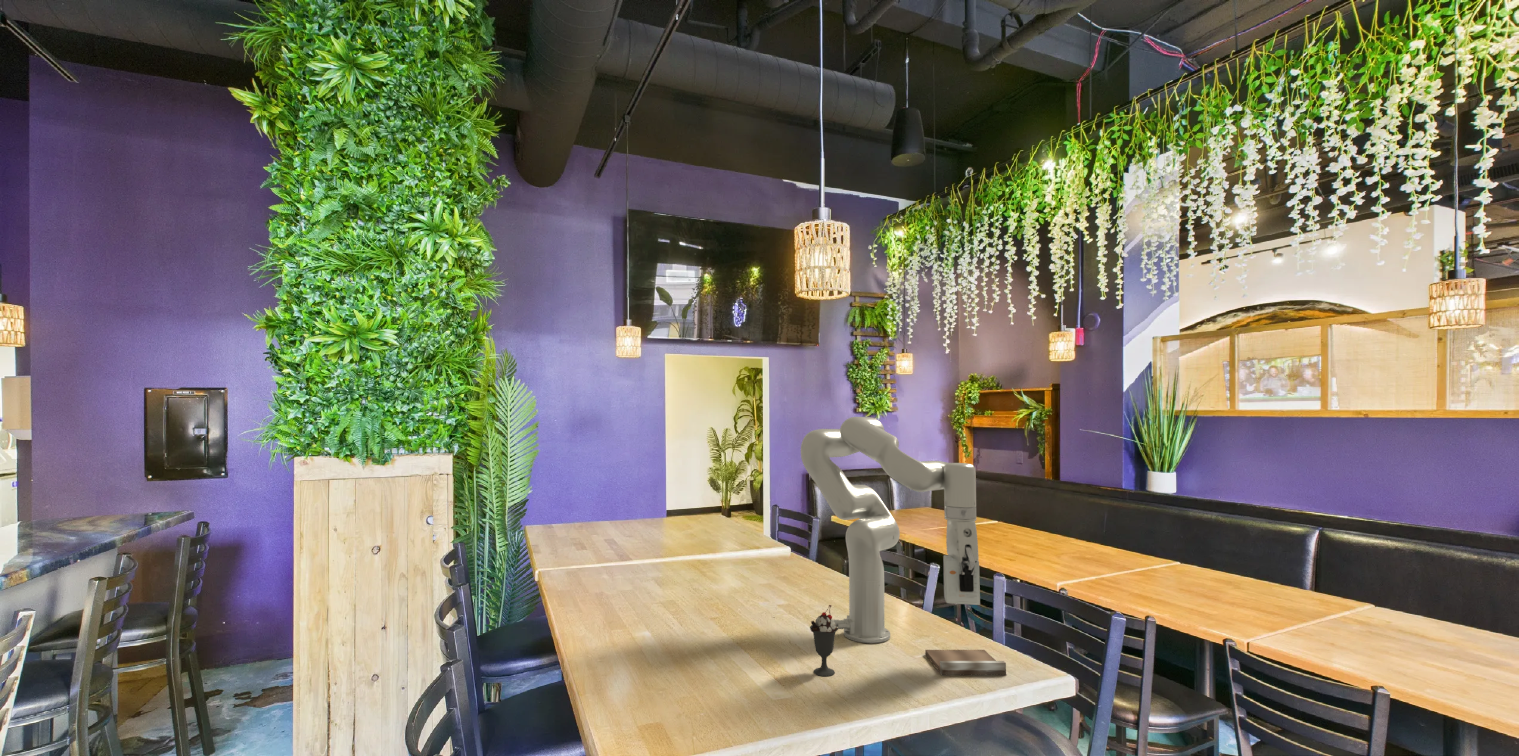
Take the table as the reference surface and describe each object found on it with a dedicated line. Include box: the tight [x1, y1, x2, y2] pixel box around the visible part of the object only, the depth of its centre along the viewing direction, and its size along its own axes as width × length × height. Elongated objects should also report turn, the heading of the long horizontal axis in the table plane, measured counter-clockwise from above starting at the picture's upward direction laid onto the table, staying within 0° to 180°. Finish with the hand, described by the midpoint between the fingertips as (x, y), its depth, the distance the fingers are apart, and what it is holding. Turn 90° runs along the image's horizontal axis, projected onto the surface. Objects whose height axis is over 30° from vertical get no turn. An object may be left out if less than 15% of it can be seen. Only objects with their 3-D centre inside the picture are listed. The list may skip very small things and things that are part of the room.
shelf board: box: [924, 649, 1007, 676], centre depth 150 cm, size 15×13×3 cm
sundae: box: [809, 604, 839, 677], centre depth 145 cm, size 7×7×15 cm
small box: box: [942, 554, 981, 606], centre depth 153 cm, size 8×6×10 cm
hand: (961, 586), depth 153 cm, fingers closed on small box, 6 cm apart
